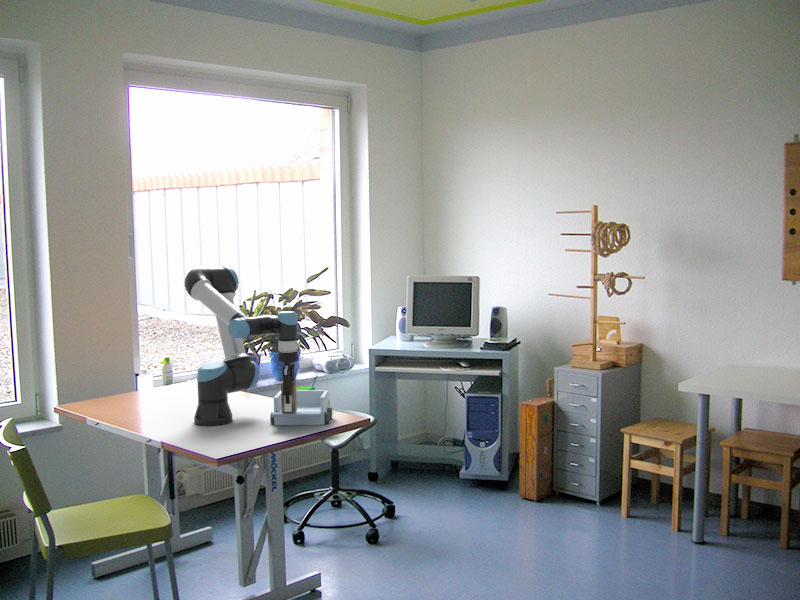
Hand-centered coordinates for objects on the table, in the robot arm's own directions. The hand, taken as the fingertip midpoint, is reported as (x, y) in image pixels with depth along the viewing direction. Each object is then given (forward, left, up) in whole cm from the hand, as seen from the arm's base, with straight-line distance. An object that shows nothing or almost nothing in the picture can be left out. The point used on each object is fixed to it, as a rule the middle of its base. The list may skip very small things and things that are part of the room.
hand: (289, 409), depth 300 cm
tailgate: (+3, +4, -2) cm, 5 cm away
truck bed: (+3, +12, -7) cm, 14 cm away
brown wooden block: (0, 0, -1) cm, 1 cm away
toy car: (+5, +28, -7) cm, 29 cm away
